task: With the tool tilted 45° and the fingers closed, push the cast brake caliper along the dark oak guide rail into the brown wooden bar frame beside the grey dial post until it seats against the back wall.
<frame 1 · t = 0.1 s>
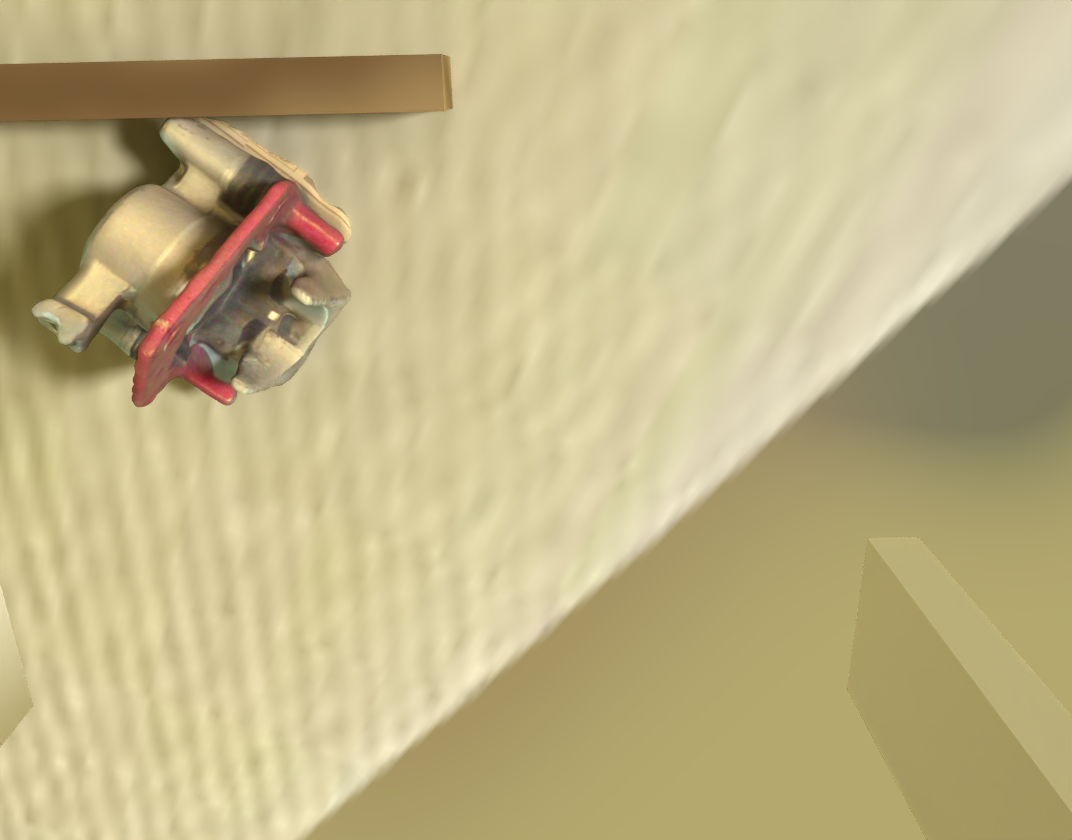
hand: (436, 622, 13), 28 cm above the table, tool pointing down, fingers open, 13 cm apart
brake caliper: (240, 265, 40), on the table
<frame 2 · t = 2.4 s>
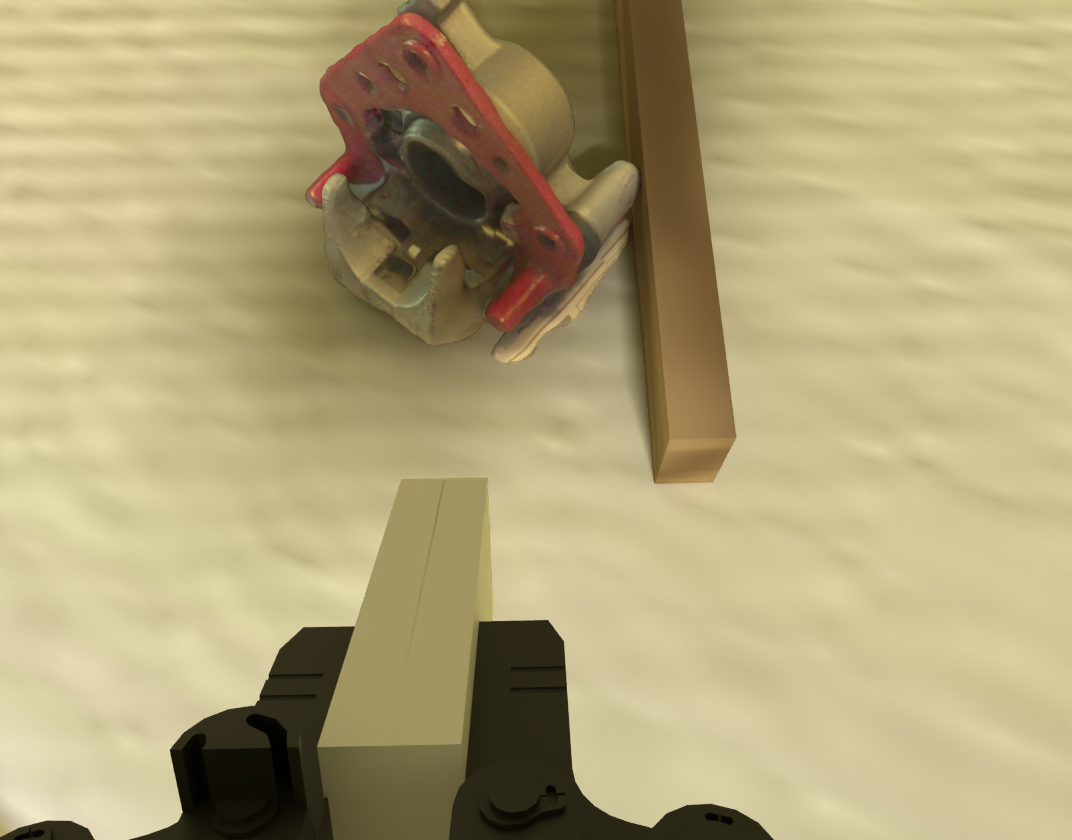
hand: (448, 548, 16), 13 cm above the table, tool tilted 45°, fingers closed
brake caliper: (467, 248, 34), on the table, touching brown wooden bar frame
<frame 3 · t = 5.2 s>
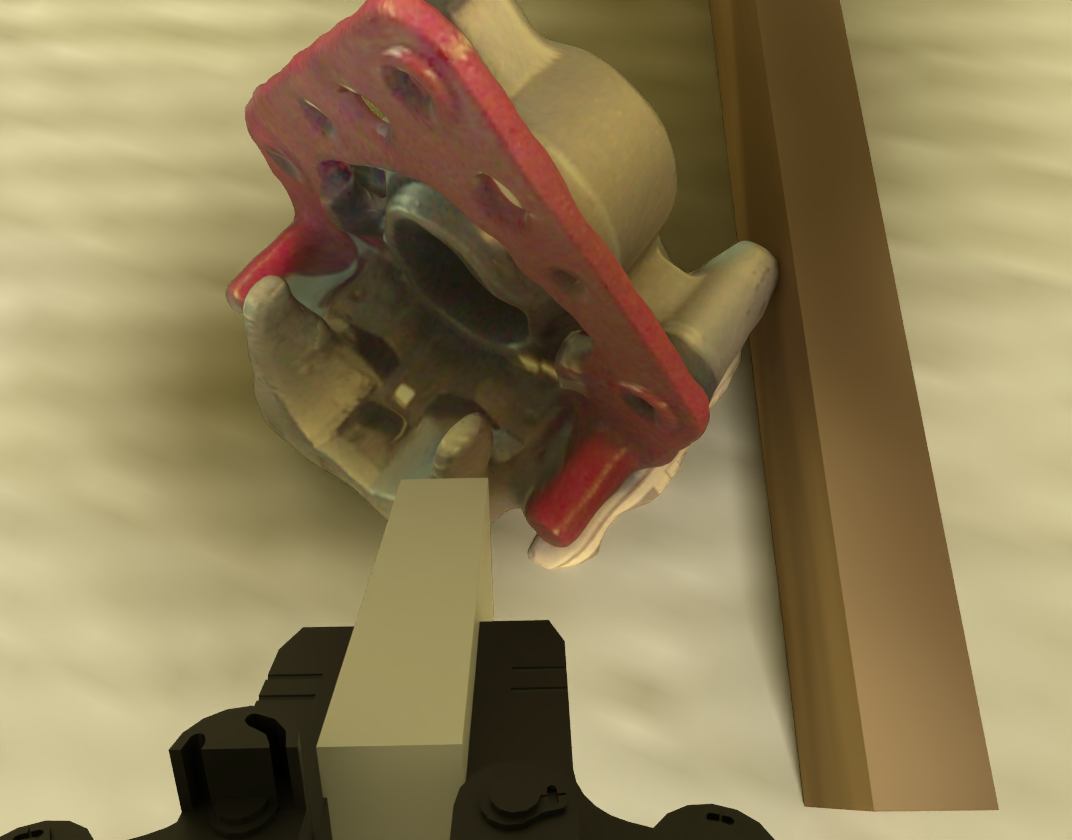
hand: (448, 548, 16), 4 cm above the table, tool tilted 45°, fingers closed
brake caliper: (488, 366, 22), on the table, touching gripper
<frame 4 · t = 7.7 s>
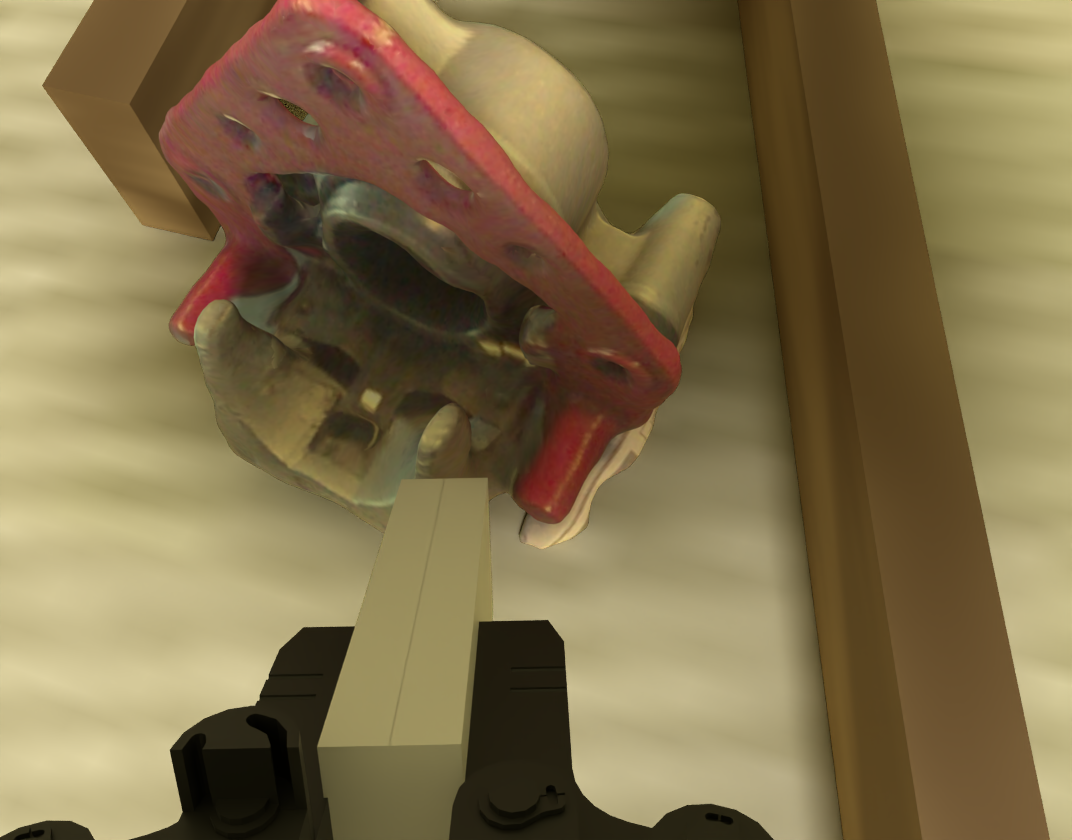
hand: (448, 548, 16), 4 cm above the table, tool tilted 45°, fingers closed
brown wooden bar frame: (517, 114, 24), on the table
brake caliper: (446, 360, 22), on the table, touching gripper
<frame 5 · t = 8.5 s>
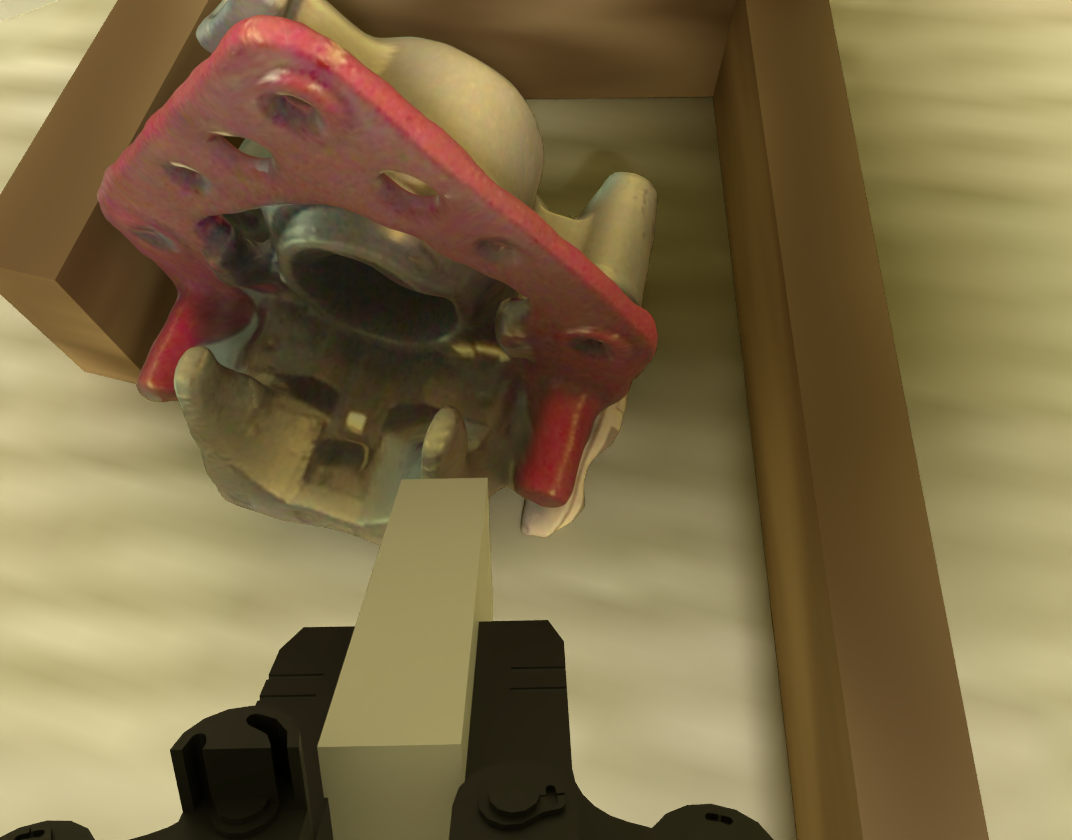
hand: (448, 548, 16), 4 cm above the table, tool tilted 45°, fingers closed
brown wooden bar frame: (483, 246, 23), on the table
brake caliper: (414, 373, 22), on the table, touching gripper
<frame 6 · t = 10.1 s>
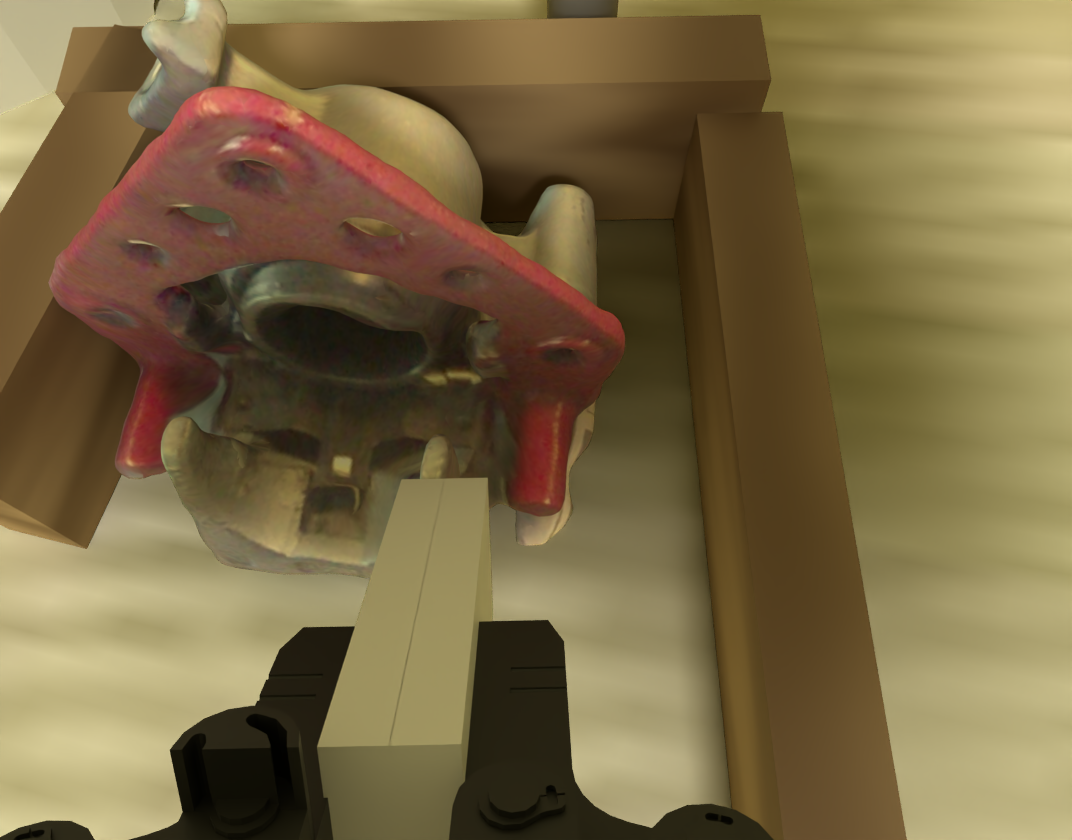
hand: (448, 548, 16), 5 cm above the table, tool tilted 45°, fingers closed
brown wooden bar frame: (432, 385, 22), on the table
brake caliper: (384, 409, 22), on the table
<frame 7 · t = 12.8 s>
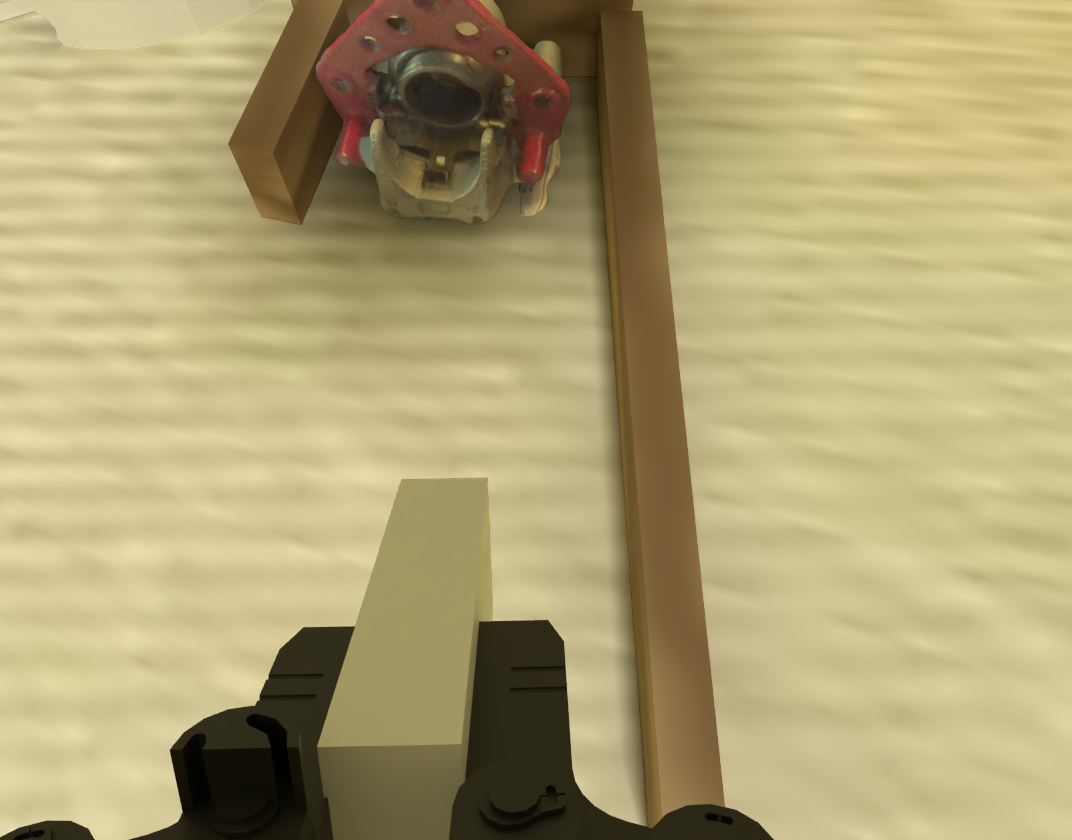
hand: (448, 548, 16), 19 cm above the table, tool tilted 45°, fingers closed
brown wooden bar frame: (469, 154, 43), on the table
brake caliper: (453, 158, 44), on the table
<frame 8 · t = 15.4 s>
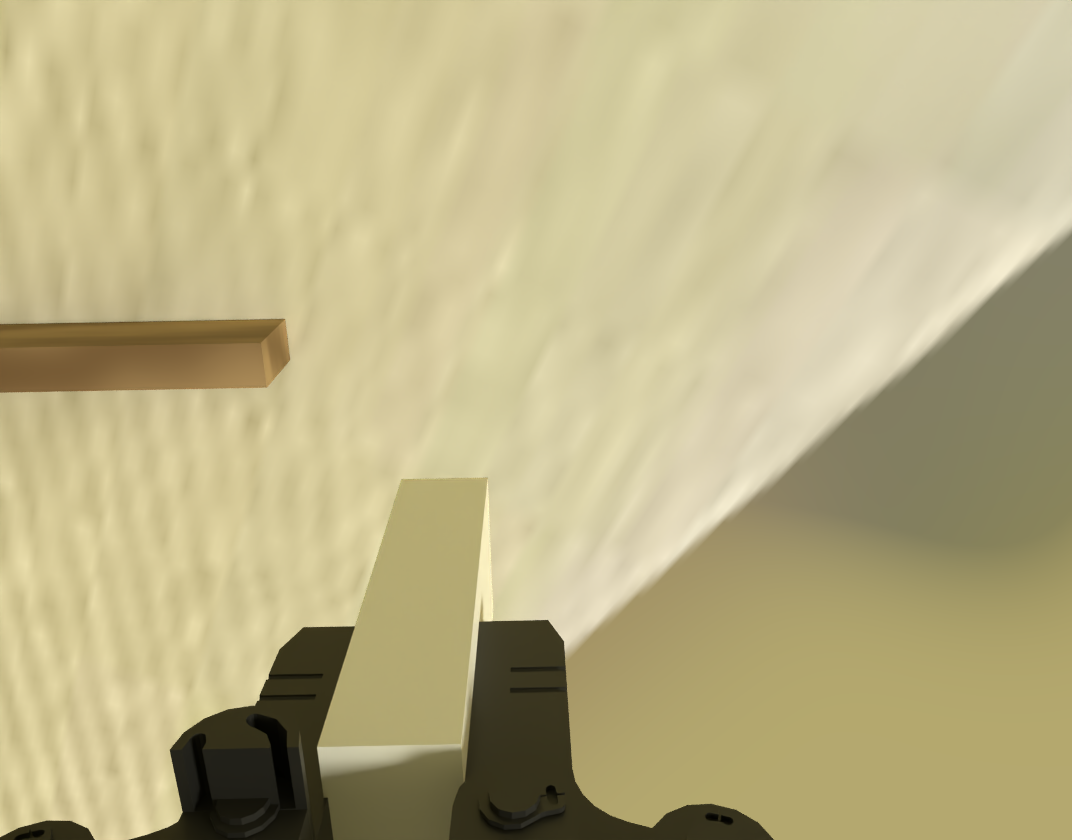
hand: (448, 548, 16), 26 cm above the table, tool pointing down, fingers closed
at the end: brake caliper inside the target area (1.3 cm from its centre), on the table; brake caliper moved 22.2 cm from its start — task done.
